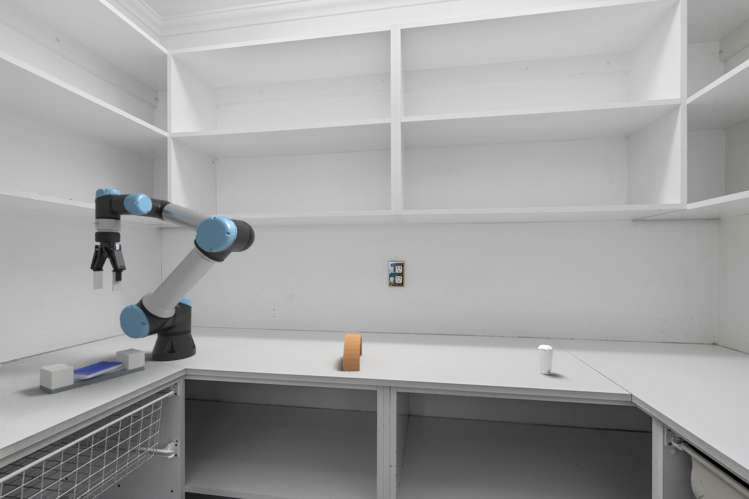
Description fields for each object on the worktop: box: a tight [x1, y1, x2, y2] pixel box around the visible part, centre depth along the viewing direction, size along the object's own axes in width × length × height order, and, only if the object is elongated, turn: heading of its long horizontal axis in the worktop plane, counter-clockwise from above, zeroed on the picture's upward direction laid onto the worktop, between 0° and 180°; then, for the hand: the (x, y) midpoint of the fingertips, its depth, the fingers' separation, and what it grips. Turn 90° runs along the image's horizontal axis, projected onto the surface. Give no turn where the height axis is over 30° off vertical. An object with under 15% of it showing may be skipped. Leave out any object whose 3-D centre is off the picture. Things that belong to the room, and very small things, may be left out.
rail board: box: [39, 348, 146, 395], centre depth 114 cm, size 25×8×6 cm, turn 151°
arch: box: [342, 333, 363, 372], centre depth 131 cm, size 6×20×10 cm, turn 179°
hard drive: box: [73, 360, 123, 379], centre depth 114 cm, size 2×8×12 cm
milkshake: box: [537, 344, 555, 376], centre depth 118 cm, size 4×5×10 cm
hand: (107, 289), depth 131 cm, fingers open, 13 cm apart
